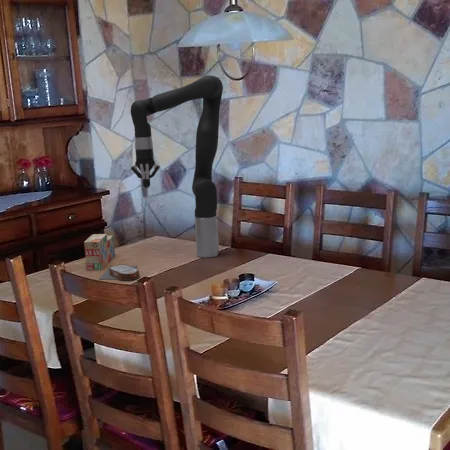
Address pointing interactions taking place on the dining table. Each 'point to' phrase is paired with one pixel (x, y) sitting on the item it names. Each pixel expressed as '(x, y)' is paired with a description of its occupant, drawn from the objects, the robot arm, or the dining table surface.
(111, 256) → the stack of blocks
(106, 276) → the mat
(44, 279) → the dining table surface
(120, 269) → the tin
